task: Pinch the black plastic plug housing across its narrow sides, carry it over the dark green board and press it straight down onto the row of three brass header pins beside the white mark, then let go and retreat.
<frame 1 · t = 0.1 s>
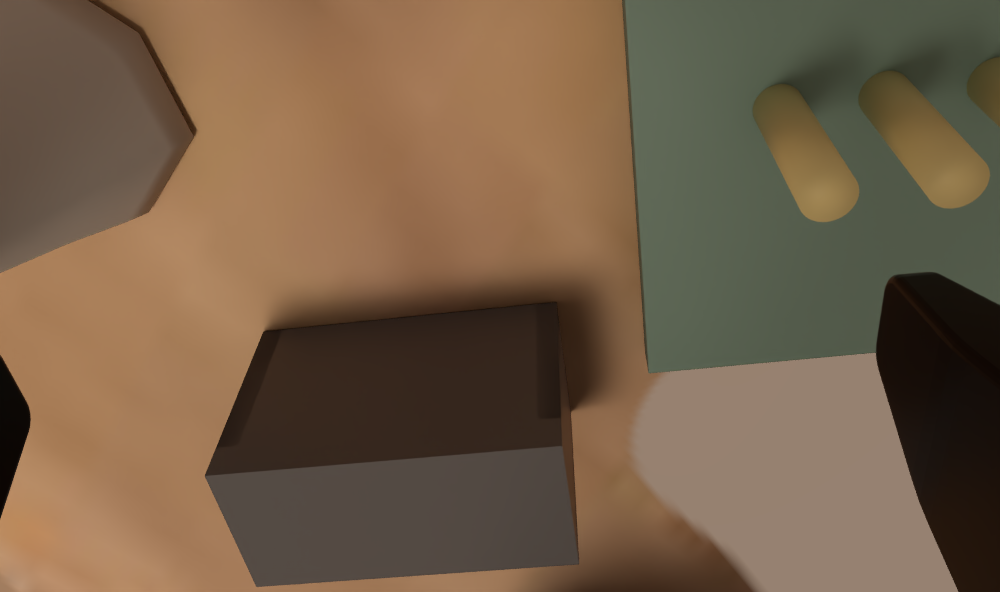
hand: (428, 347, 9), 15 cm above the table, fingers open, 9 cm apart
header board: (871, 79, 22), on the table
grey flared piece: (52, 103, 24), on the table
plug housing: (421, 373, 28), on the table
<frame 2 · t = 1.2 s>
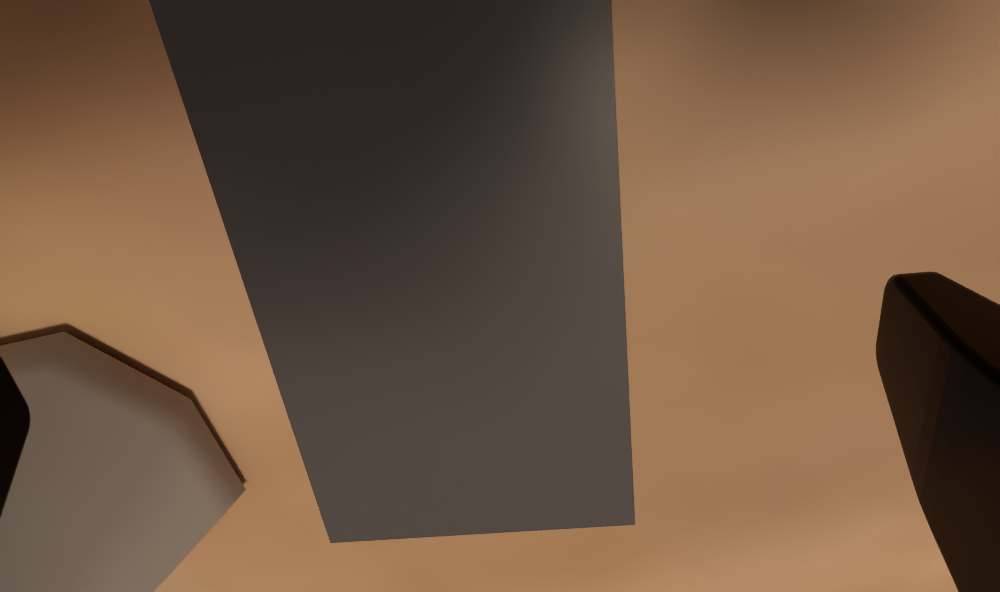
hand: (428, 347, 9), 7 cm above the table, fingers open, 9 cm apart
grey flared piece: (84, 448, 21), on the table
plug housing: (461, 79, 15), on the table
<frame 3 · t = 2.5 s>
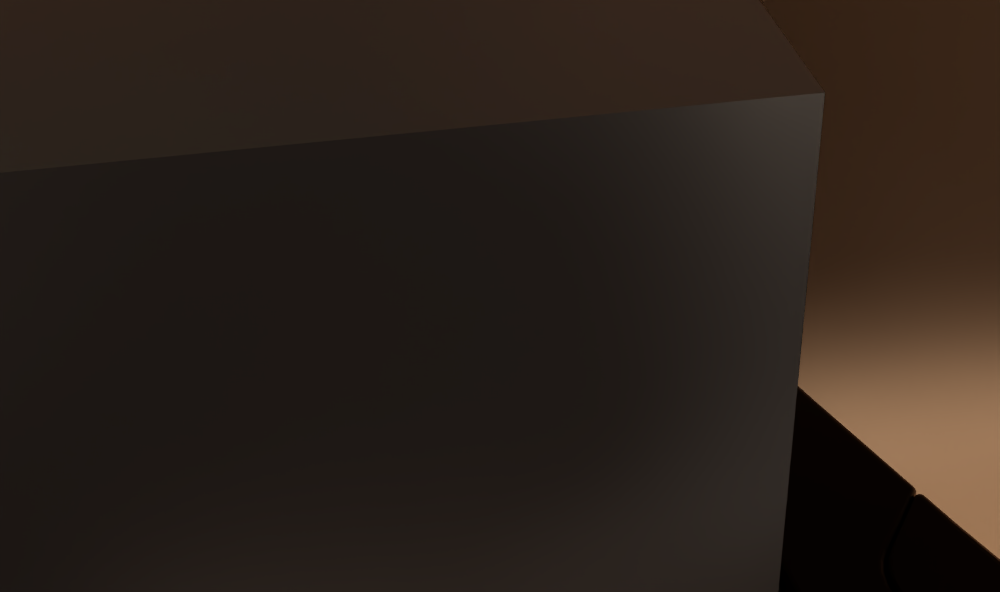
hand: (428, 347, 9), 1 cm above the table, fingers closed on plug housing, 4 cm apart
plug housing: (437, 291, 10), on the table, touching gripper
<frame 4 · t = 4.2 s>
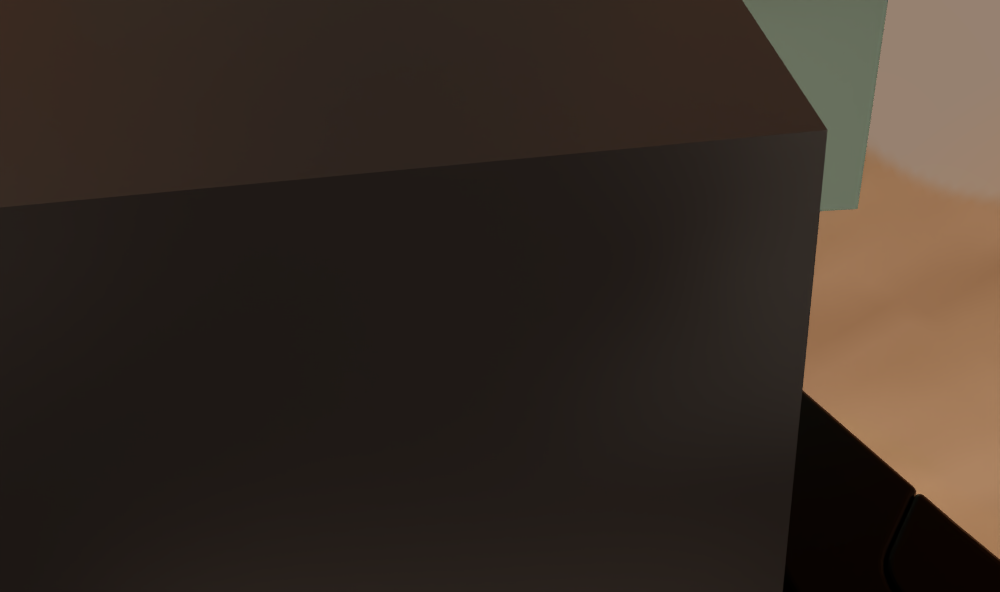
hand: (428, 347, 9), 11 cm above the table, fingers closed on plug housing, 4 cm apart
plug housing: (439, 299, 10), point 10 cm above the table, touching gripper
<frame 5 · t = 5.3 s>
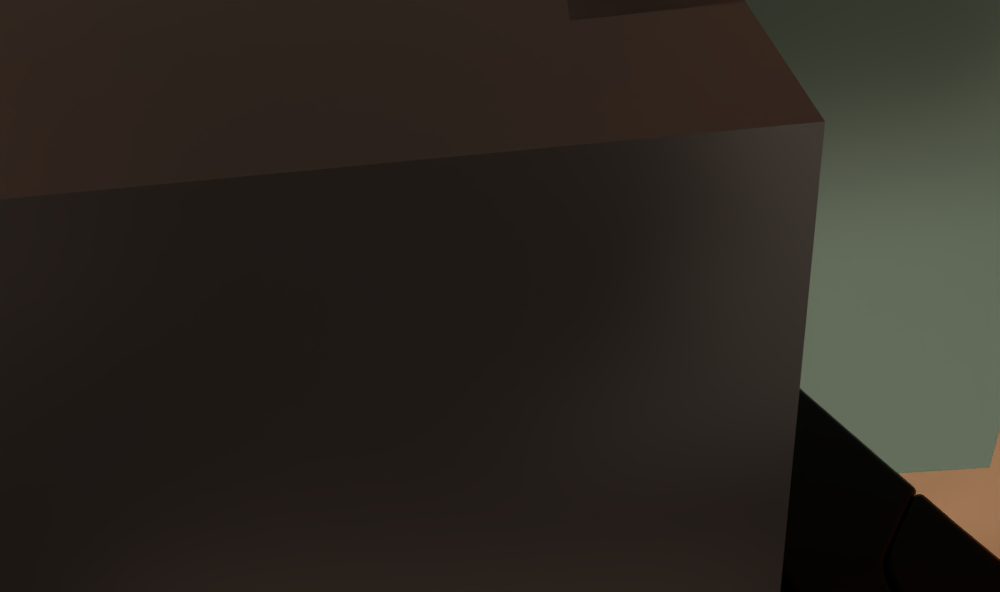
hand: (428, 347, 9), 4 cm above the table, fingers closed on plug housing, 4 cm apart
header board: (452, 152, 13), on the table
plug housing: (438, 297, 10), point 3 cm above the table, touching gripper
when the fingers open (2 cm above the table, at t = 6.0 s): plug housing stays where it is, resting on header board.
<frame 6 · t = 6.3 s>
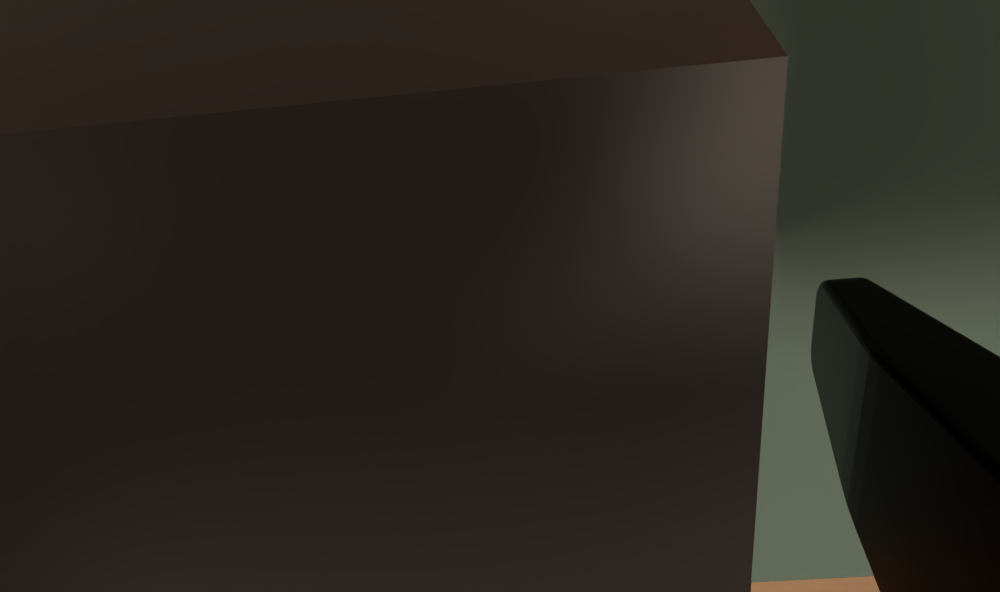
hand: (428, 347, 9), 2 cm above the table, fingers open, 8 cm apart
header board: (444, 221, 11), on the table
plug housing: (442, 272, 10), point 1 cm above the table, touching header board
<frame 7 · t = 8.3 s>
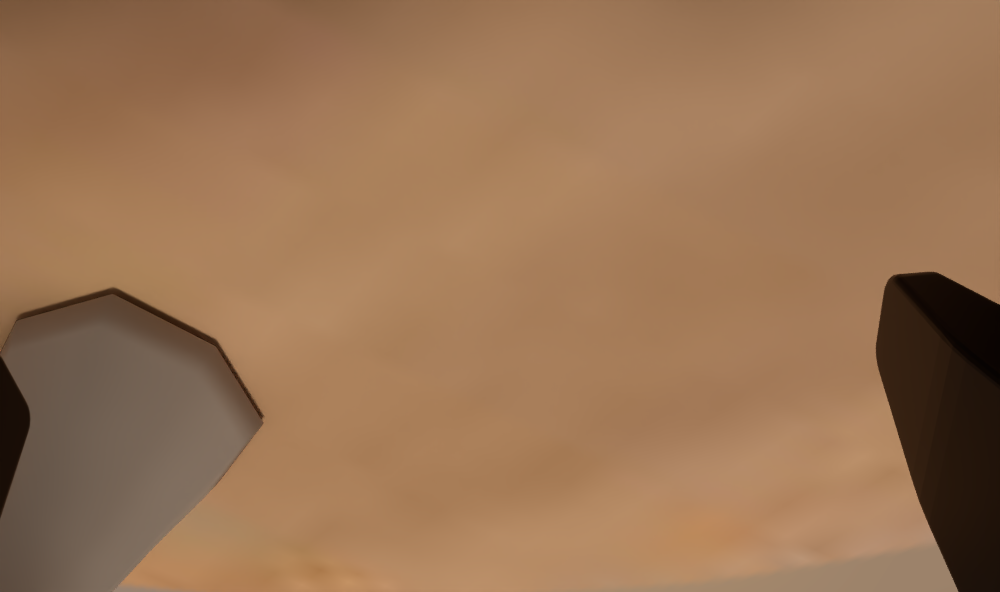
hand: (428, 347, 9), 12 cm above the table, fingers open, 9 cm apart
grey flared piece: (130, 394, 25), on the table
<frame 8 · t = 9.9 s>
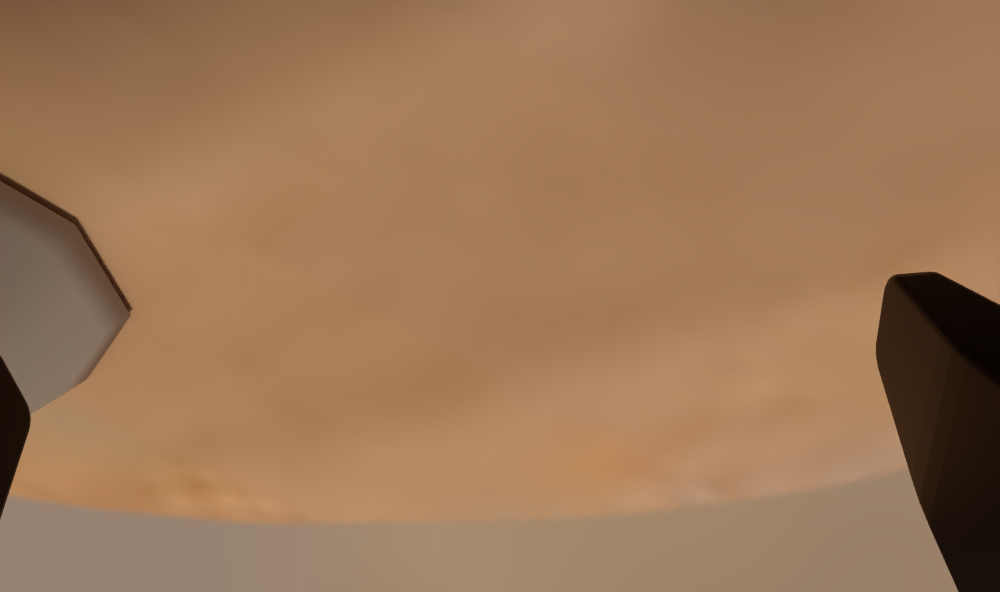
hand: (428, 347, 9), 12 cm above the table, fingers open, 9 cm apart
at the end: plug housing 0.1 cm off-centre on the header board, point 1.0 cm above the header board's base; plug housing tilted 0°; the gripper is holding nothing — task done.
